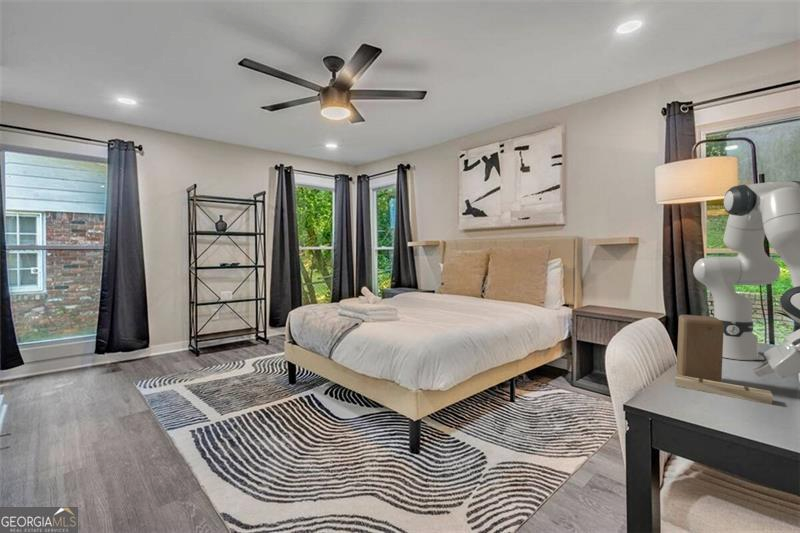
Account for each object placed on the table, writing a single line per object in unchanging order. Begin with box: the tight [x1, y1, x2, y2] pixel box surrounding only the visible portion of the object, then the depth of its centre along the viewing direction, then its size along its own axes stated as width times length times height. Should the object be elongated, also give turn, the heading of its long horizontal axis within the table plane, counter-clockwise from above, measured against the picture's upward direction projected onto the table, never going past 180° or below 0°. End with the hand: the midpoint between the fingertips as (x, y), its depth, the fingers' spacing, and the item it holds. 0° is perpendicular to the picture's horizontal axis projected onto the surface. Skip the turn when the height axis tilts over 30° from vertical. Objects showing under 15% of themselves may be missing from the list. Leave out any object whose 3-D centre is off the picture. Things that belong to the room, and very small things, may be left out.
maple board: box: [674, 374, 773, 405], centre depth 107 cm, size 4×21×3 cm, turn 50°
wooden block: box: [676, 314, 724, 382], centre depth 118 cm, size 10×10×20 cm
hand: (756, 373), depth 108 cm, fingers closed
